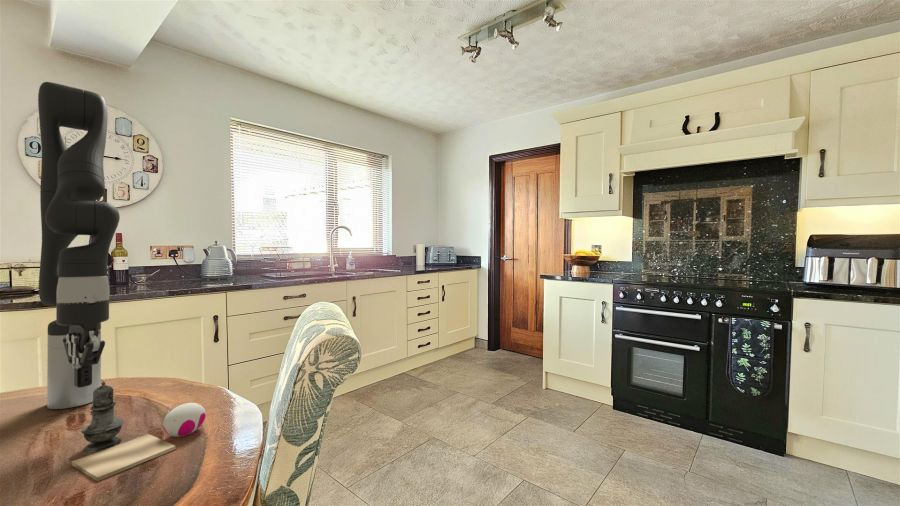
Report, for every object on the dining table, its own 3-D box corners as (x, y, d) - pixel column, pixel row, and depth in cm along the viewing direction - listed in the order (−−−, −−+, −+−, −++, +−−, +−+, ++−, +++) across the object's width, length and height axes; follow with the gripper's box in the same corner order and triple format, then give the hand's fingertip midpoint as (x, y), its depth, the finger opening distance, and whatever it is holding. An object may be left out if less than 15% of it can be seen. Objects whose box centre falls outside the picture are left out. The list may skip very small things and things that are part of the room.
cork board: (71, 464, 63) (71, 461, 63) (148, 436, 73) (148, 433, 73) (97, 481, 58) (97, 477, 58) (175, 449, 68) (175, 445, 68)
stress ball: (174, 460, 70) (189, 434, 69) (148, 432, 72) (161, 407, 71) (210, 440, 77) (223, 416, 76) (185, 415, 79) (198, 391, 78)
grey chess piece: (97, 454, 66) (98, 387, 66) (72, 451, 67) (72, 385, 67) (131, 438, 72) (132, 377, 72) (108, 436, 73) (108, 375, 73)
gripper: (44, 299, 74) (43, 387, 73) (71, 302, 68) (70, 397, 67) (94, 296, 80) (93, 376, 80) (122, 298, 74) (122, 385, 74)
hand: (83, 385), depth 74 cm, fingers closed
